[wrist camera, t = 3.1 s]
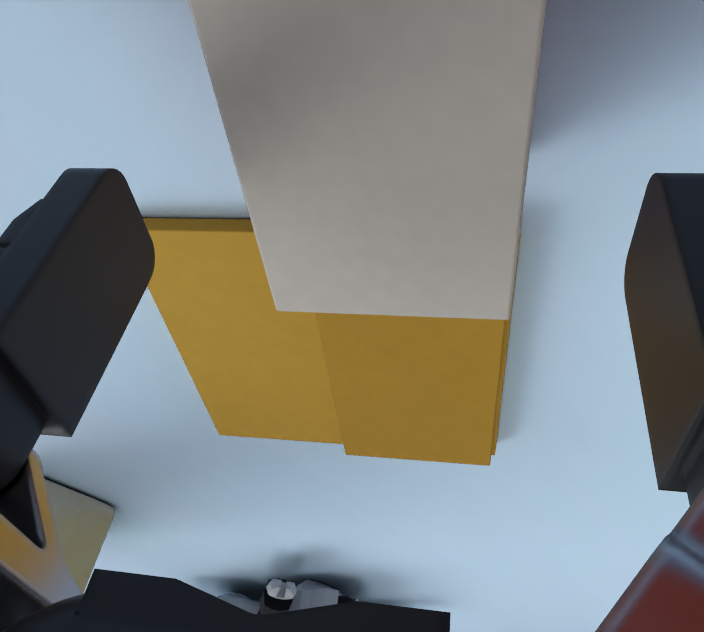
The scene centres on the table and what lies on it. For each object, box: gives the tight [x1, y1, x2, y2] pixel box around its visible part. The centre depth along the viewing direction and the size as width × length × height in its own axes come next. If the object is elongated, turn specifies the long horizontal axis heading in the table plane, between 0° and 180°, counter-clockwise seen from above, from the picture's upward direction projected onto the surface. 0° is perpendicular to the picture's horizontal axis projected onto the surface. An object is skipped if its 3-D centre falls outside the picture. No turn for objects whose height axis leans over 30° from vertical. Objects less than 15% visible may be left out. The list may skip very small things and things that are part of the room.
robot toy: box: [217, 578, 359, 615], centre depth 45 cm, size 12×4×15 cm
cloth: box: [143, 218, 520, 466], centre depth 23 cm, size 12×12×1 cm
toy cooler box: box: [188, 0, 547, 320], centre depth 13 cm, size 8×5×6 cm, turn 6°
